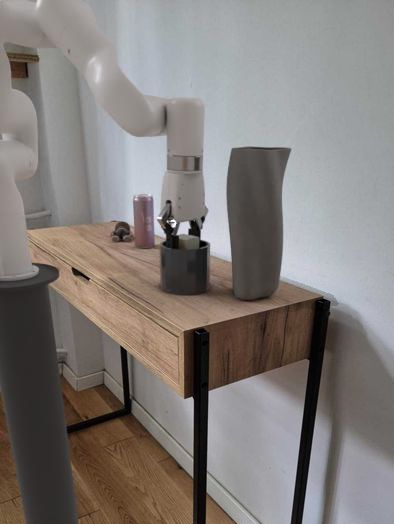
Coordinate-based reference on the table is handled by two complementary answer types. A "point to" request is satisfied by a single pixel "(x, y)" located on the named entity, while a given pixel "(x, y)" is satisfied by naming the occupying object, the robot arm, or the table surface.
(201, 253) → the cup
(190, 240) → the box
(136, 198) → the beverage can
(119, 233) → the figurine
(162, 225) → the robot arm
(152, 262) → the table surface
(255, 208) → the vase
